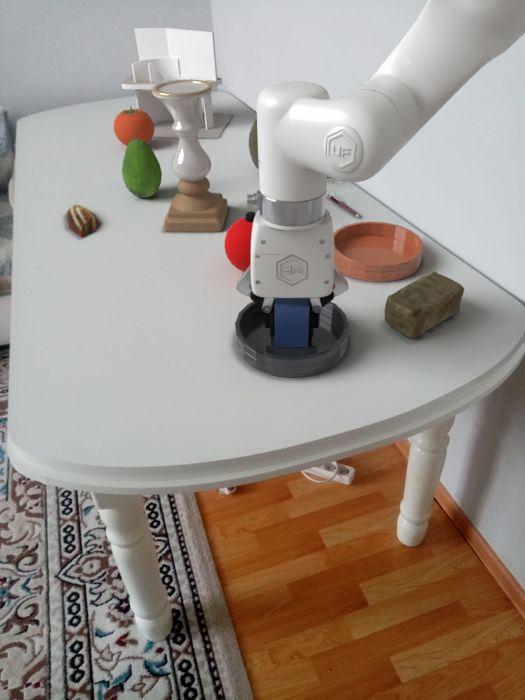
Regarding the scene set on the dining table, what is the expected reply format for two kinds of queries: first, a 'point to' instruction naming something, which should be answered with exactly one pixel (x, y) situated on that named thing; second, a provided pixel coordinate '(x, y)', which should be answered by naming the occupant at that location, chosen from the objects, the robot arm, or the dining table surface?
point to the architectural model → (174, 75)
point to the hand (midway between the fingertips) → (291, 329)
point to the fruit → (141, 169)
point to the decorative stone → (81, 220)
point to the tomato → (133, 126)
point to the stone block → (423, 304)
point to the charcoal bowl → (292, 360)
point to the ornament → (240, 242)
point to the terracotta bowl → (377, 251)
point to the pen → (343, 205)
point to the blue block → (291, 322)
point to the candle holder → (191, 162)
